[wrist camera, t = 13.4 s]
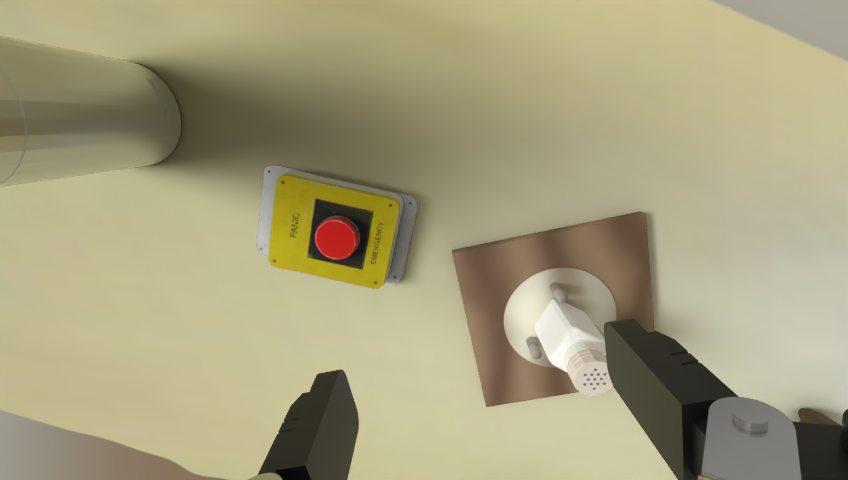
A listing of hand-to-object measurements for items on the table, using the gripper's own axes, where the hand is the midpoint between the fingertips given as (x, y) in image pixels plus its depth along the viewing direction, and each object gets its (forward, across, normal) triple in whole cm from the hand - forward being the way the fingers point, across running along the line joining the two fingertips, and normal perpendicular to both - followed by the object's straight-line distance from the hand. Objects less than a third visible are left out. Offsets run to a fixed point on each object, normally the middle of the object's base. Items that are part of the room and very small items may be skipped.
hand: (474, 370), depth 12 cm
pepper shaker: (+25, -9, +14) cm, 30 cm away
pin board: (+26, -9, +14) cm, 31 cm away
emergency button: (+27, +11, 0) cm, 29 cm away
